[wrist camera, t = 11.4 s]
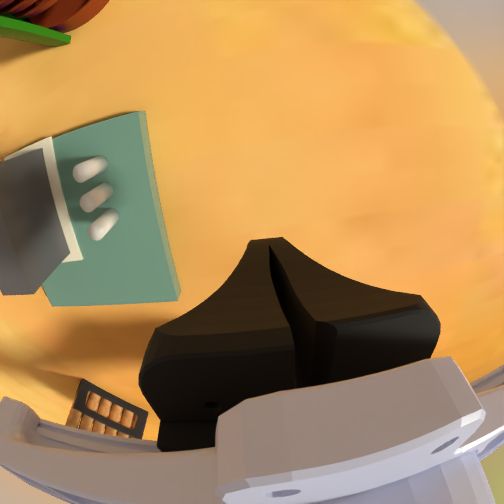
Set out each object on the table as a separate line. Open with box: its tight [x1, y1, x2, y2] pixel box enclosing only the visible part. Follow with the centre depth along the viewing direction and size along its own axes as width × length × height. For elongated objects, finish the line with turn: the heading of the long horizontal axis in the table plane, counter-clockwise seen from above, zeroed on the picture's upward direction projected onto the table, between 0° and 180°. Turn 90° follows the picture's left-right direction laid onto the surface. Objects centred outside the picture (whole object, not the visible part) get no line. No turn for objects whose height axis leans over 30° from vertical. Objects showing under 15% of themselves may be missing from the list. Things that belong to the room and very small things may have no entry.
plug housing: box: [0, 148, 70, 295], centre depth 15 cm, size 9×4×6 cm, turn 5°
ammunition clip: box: [65, 379, 148, 439], centre depth 27 cm, size 11×2×12 cm, turn 50°
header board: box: [2, 111, 181, 306], centre depth 18 cm, size 15×14×4 cm
